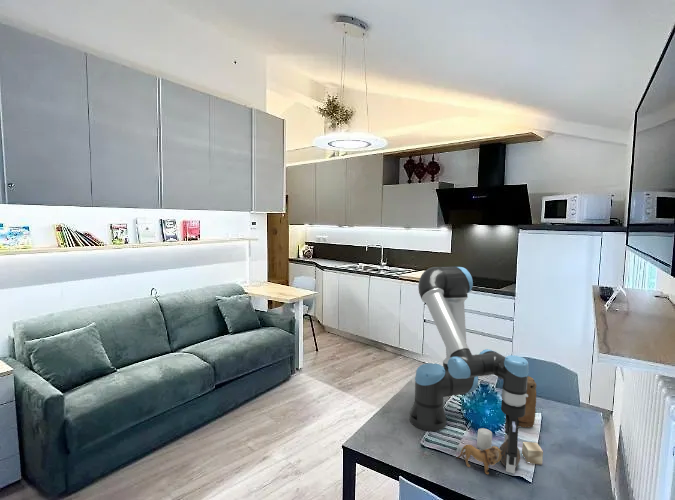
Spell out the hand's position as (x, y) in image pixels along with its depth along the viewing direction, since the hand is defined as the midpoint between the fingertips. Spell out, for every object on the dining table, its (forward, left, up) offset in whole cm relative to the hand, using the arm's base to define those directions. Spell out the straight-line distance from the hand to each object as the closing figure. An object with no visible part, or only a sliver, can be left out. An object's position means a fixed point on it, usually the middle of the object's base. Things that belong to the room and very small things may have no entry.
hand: (508, 461), depth 133 cm
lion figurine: (-10, -5, -1) cm, 11 cm away
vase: (0, 0, -1) cm, 1 cm away
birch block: (+8, +6, -1) cm, 10 cm away
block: (+6, +30, -1) cm, 31 cm away
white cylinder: (-8, +7, -1) cm, 11 cm away
